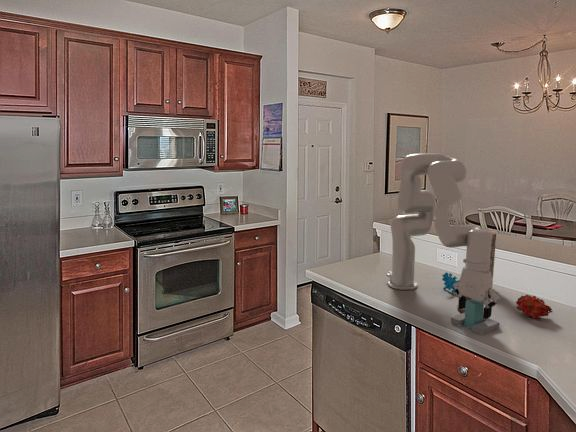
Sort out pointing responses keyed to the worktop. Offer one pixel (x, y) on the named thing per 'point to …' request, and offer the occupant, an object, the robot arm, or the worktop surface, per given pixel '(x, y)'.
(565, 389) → the worktop surface
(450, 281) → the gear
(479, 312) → the teal tab
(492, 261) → the paper tube
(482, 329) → the notched board
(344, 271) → the worktop surface
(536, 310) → the dragon fruit
